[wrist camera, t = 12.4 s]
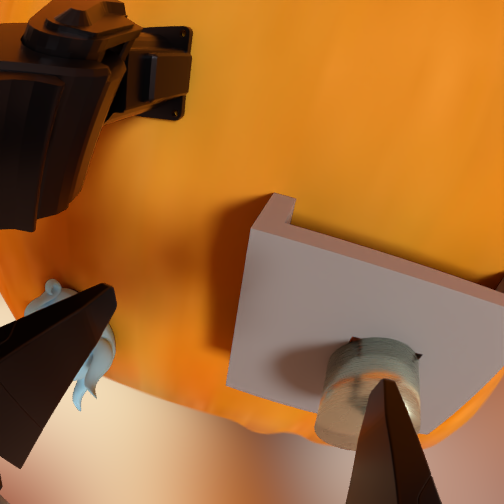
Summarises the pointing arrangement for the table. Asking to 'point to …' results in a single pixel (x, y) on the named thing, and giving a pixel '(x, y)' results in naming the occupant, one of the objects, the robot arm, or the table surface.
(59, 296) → the teapot
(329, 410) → the grey beige cylinder
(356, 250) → the base
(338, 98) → the table surface
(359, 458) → the robot arm
